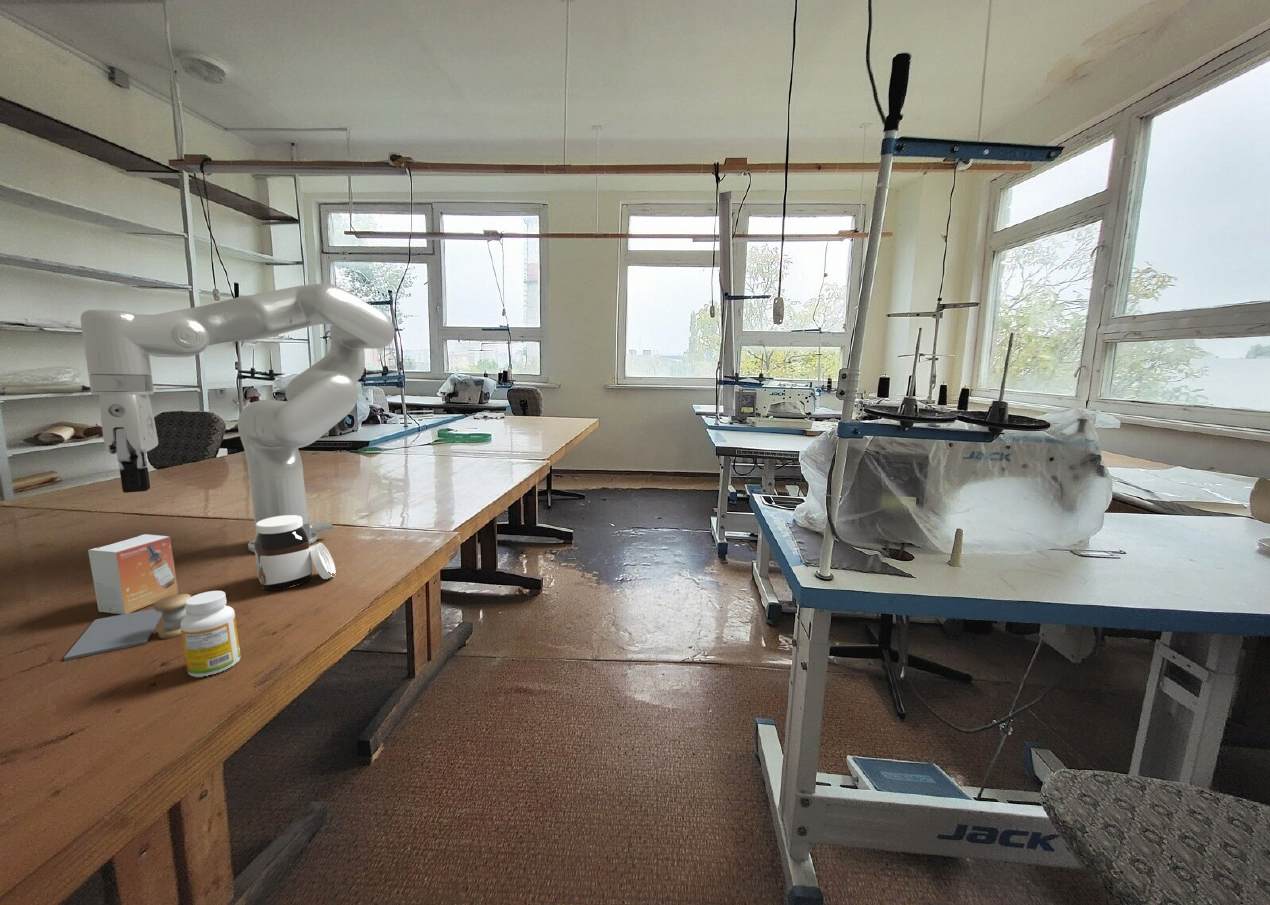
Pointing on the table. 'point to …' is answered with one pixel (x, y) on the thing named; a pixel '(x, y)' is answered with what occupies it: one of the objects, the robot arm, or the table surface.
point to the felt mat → (115, 633)
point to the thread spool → (171, 614)
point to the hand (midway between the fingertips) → (136, 490)
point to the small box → (133, 573)
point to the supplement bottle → (209, 634)
